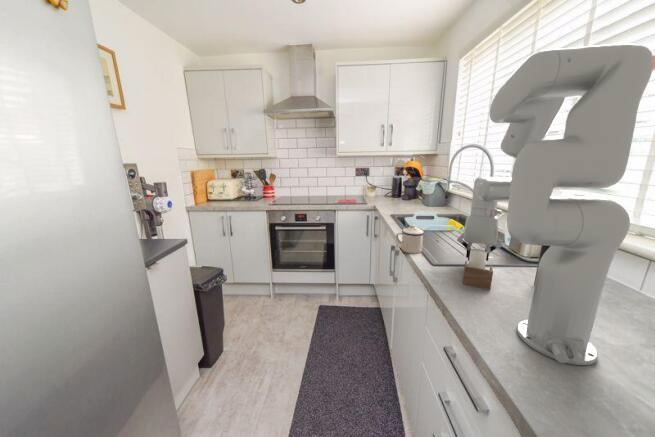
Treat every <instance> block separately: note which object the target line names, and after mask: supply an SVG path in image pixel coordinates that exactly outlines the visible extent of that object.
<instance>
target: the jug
mask: <svg viewBox="0 0 655 437" xmlns="http://www.w3.org/2000/svg"><path fill="white" fill-rule="evenodd" d="M486 257H487V252H486V251H485V250H484V249H481V248H478V247H477V248H471V250H470V256H469V261H468V263H467V264H468V265H467V266H469V267H475V268H480V269H486V264H487V261H486Z"/></svg>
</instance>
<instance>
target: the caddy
mask: <svg viewBox="0 0 655 437" xmlns="http://www.w3.org/2000/svg"><path fill="white" fill-rule="evenodd" d="M467 262H468V260H467V261H466V260H465V262H464V270H463V276H462V278H463V279H462V284H463V285H465V286H470V287H476V288H479V289H485V290H488V291H489V290H491V287H492V283H493V281H492V280H493V275H494V269H493V265H492V264H491V265H490V266H489V269H486V268H485V269H480V268H475V267H469V266H468V265H467V264H468V263H467Z"/></svg>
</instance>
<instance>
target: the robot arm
mask: <svg viewBox="0 0 655 437" xmlns="http://www.w3.org/2000/svg"><path fill="white" fill-rule="evenodd" d="M654 62H655V61H654V56H653V53H652V51H651V50H650V48H648V47H647V46H646V45H642V44H639V43H638V44H637V43H612V44H611V43H610V44H599V45H585V46H577V47H566V48H564V47H563V48H552V49H545V50H541V51H540V50H539V51H537V52H534V53H533V54H531V55H529V56H528V57H527V58H526V59H525V60H523V61H522V62H521V64H520V65H519V66H518V67H517V68H516V69H515V70H514V71H513V72H512V74H511V75H510V76H509V77H508V78H507V79H506V81H504V83H503V84H502V86H501V87H500V88H499V90H498V91H497V92H496V94H495V95H494V98H493V100H492V102H491V104H490V107H489V118H490V120H491V122H493V123H494V124H508V127H507V129H506V132H505V134H504V136H503V139H502V140H501V143H500V150H501V151H502V152H503V153H504V154H506V155H507V156H509V157H512V158H514V159H515V160H514V163H513V166H512V171H511V177H496V176H494V177H493V176H479V177H477V178H475V180H474V184H473V189H472V190H473V192H472V197H471V198H472V199H471V200H472V201H471V208H470V213H469V214H468V215H467V217H466V220H465V224H464V230H463V233H461V234H460V235H459V236H458V237H457V239H456V241H457V242H458V243H460V244H461V245H462V246H463V247H464V248H465V250H466V253H465V258H467V262H469V256H470V250H471V249H472V245H473V244H477V245H478V244H479V245H485V250H484V251H486V252H487V257H486V262H489V256H490V254H491V252H494V251H495V250H496V249H499V248H501V247H503V243H502V241H501V240H500V238H499V237H498V232H499V230H498V229H499V227H498V226H499V220H498V219H499V218H498V216H497V215H502V210H501V209H498V208H497V207H498V202H499V203H500V202H504V203H505V202H507V203H508V205H507V213H506V214H507V215H506V226H507V231H508V234H509V236H510V237H511V238H512V240H514V241H515V242H517V243H519V244H523V245H530V246H542V245H547V246H550V247H549V248H548V249H547V251H546V252H545V253H544V254H543V256H542V258H541V260H540V263H539V267H538V271H537V270H536V271H537V276H536V275H535V276H536V281H535V280H534V281H535V286H534V285H533V286H534V287H533V291H532V297H531V302H530V307H529V312H528V319H525V320H521V321H520V322H518V324H517V327H516V332H517V334H518V336H519V337H520V339H521V340H522V341H523V342H524V343H525V344H527V345H528V346H529V347H530V348H532V349H533V350H535V351H537V352H539V353H540V354H542V355H544V356H546V357H549V358H551V359H554V360H556V361H557V362H558V363H561V364H570V365H574V366H590V365H593V364H595V363H596V362H597V360H598V358H599V354H598V351H597V349H596V347H595V346H594V345H593V344H592V343H591V342H590V339H591V336H592V331H593V327H594V324H595V320H596V316H597V313H598V308H599V306H600V301H601V298H602V295H603V290H604V287H605V285H606V284H605V283H606V280H607V277H608V273H609V270H610V267H611V264H612V261H613V259H614V257H615V255H616V253H617V252H618V250H619V248H620V247H621V245H622V243H623V242H624V240H625V238H626V237H627V234H628V233H629V230H630V225H631V220H630V218H631V217H630V216H629V213H628V212H627V210H626V209H625V208H624V207H623V205H621V204H619V203H618V202H616V201H613V200H611V199H607V198H602V197H594V196H552V193H553V190H563V191H565V190H569V191H571V190H580V191H581V190H585V191H586V190H600V189H606V188H609V187H612V186H614V185H616V184H617V183H619V182H620V180H622V178H623V176H624V174H625V172H626V169H627V168H628V167H627V165H628V162H629V157H630V153H631V152H630V151H631V148H632V144H633V139H634V132H635V126H636V122H637V116H638V115H637V114H638V111H639V106H640V102H641V100H642V98H643V96H644V92H645V90H646V88H647V86H648V83H649V81H650V79H651V77H652V74H653V69H654ZM574 97H575V98H576V97H580V98H579V99H578V100H577V101H576V102H575V103H574V105H573V106H572V107H571V108H570V110H569V111H568V113H567V117H566V119H565V125H564V132H563V135H562V137H547V135H548V133H549V131H550V129H551V128H552V126H553V124H554V123H555V120H556V118H557V117H558V115H559V113H560V111H561V109H562V108H563V105H564V104H565V103H566V102H565V101H566V100H567V98H574Z"/></svg>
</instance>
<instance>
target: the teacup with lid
mask: <svg viewBox="0 0 655 437" xmlns="http://www.w3.org/2000/svg"><path fill="white" fill-rule="evenodd" d="M424 234H425V233H424V230H422V229H420V228H418V227H416V225H415V224H410V226H409V227H406V228H403V229H402V230H401V232H398V233H396V235H395V240H396V242H398V243H399V244H401V251H402V252H404V253H407V254H414V255H415V254H419V253H422V251H423V240H424V239H423V238H424ZM399 235H402V236H401V237H402V238H401V240H399Z"/></svg>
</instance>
